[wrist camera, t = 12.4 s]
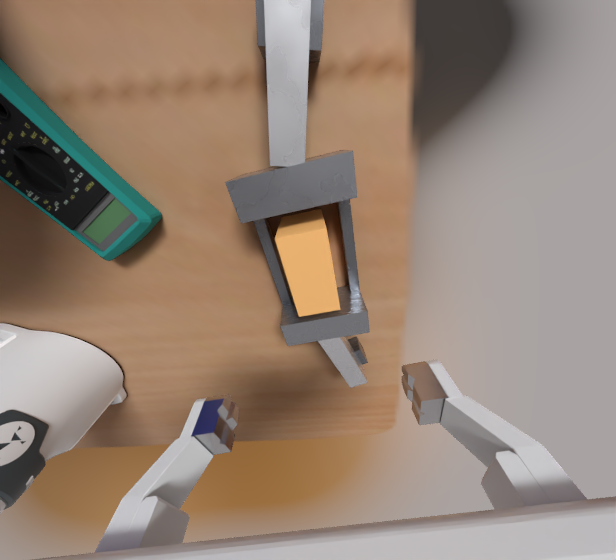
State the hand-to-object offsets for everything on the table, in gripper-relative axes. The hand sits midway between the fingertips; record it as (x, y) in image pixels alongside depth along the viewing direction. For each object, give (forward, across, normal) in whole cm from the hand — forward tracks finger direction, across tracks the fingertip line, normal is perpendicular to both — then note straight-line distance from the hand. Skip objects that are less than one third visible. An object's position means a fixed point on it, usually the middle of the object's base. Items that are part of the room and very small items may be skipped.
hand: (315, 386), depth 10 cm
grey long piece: (+16, 0, 0) cm, 16 cm away
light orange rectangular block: (+16, 0, 0) cm, 16 cm away
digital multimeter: (+16, -19, +12) cm, 28 cm away
